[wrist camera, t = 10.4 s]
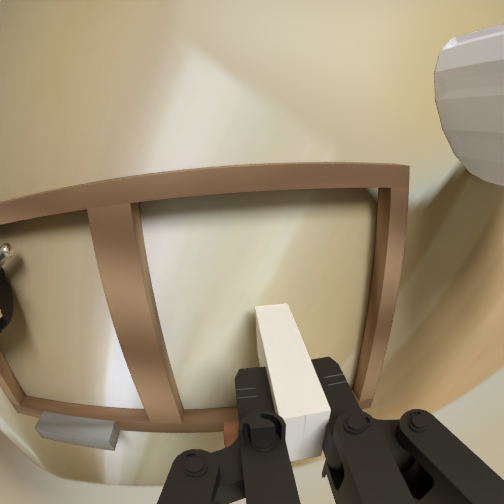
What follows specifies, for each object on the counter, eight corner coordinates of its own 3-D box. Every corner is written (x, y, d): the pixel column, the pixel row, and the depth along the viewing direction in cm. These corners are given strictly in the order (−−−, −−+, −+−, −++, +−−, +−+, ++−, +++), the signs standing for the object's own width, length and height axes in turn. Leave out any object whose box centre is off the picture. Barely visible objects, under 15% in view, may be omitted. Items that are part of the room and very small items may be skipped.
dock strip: (-51, 217, 11) (-81, 231, 8) (395, 163, 13) (433, 170, 10) (23, 402, 16) (9, 427, 13) (364, 395, 18) (380, 426, 15)
